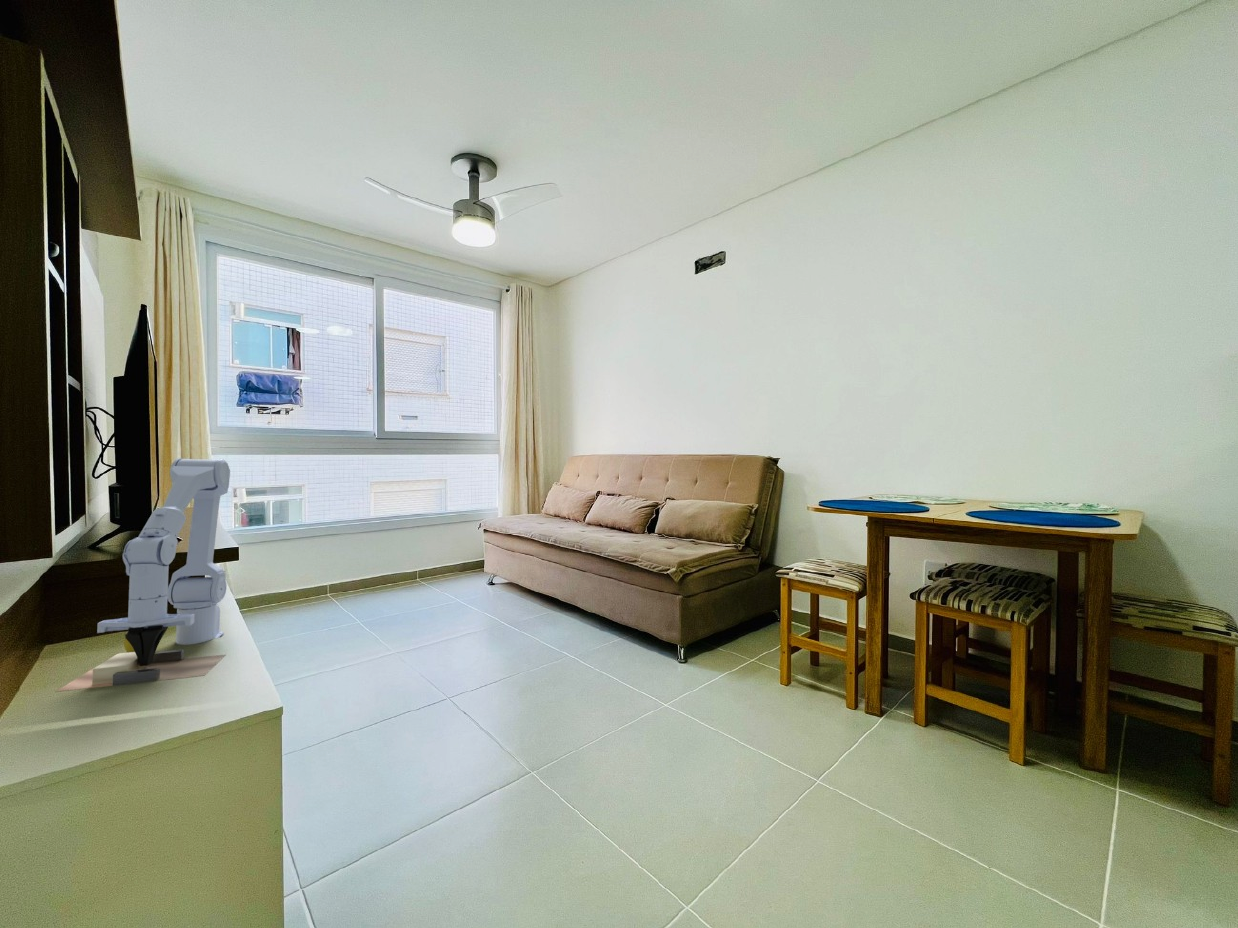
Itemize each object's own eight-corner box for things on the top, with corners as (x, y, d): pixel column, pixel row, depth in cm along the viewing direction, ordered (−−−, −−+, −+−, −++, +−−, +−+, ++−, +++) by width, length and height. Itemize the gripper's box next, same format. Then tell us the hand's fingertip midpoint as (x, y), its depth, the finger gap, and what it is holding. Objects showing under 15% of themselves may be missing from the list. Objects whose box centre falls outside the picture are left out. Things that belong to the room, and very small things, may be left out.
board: (94, 671, 102) (94, 667, 102) (226, 658, 110) (226, 654, 110) (54, 695, 91) (55, 691, 91) (204, 679, 99) (204, 675, 99)
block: (117, 668, 101) (117, 653, 101) (148, 664, 103) (149, 650, 103) (92, 684, 94) (92, 668, 94) (126, 681, 95) (127, 665, 95)
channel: (144, 662, 105) (145, 652, 105) (183, 658, 107) (184, 649, 107) (112, 685, 94) (112, 674, 94) (156, 680, 96) (156, 670, 96)
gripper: (88, 604, 94) (86, 676, 94) (185, 598, 99) (182, 666, 99) (110, 595, 100) (107, 662, 100) (199, 590, 106) (197, 654, 106)
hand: (146, 664), depth 100 cm, fingers closed
